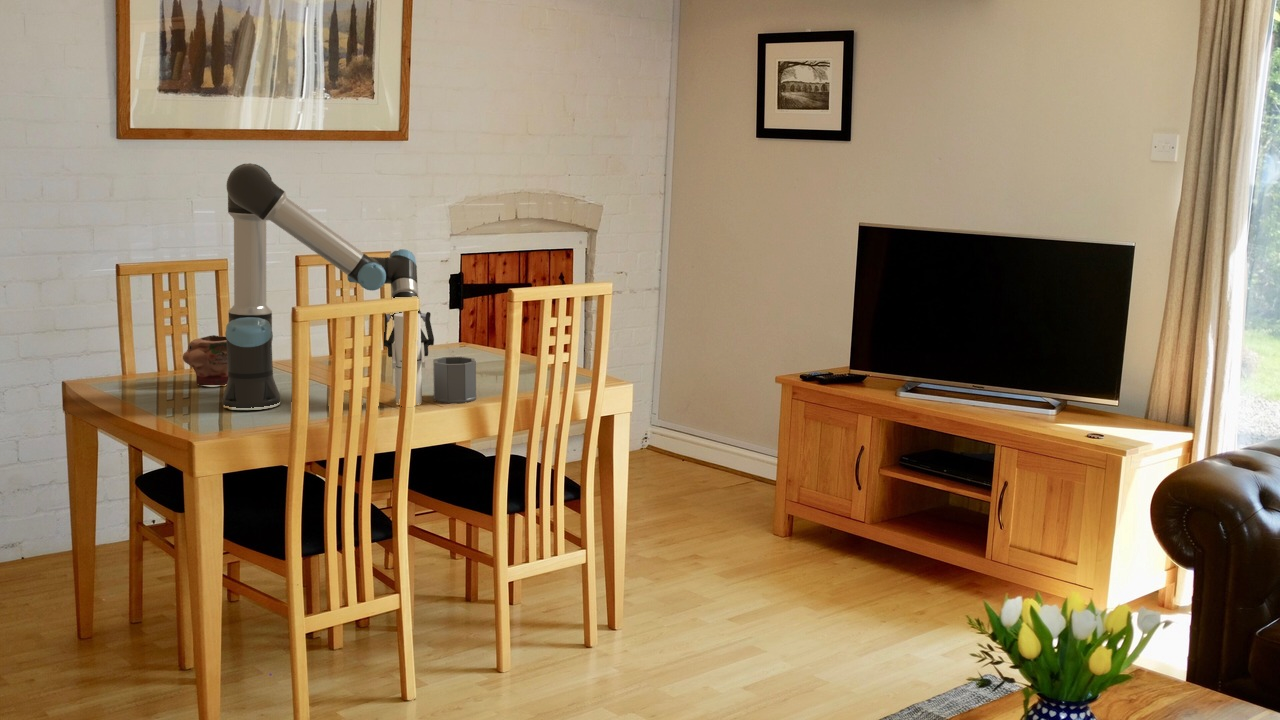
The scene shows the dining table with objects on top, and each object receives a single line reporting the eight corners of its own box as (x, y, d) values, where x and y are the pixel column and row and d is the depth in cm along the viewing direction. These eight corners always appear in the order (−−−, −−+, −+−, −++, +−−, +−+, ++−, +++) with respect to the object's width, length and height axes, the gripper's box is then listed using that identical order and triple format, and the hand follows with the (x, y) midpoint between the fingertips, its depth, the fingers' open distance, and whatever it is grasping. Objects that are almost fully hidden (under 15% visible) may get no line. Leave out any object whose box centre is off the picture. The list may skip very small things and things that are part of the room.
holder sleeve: (434, 404, 342) (434, 365, 339) (432, 394, 353) (431, 357, 351) (478, 402, 344) (478, 364, 342) (474, 393, 356) (473, 356, 354)
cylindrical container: (416, 407, 338) (414, 317, 333) (391, 405, 339) (389, 315, 334) (425, 401, 345) (424, 313, 340) (401, 400, 346) (400, 312, 341)
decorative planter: (249, 377, 373) (247, 332, 370) (260, 385, 362) (258, 338, 360) (180, 383, 362) (178, 336, 360) (189, 391, 352) (186, 343, 349)
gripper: (440, 305, 354) (445, 371, 342) (368, 306, 350) (371, 374, 337) (441, 289, 348) (446, 356, 336) (368, 290, 343) (371, 358, 331)
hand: (408, 365), depth 336 cm, fingers closed on cylindrical container, 7 cm apart
